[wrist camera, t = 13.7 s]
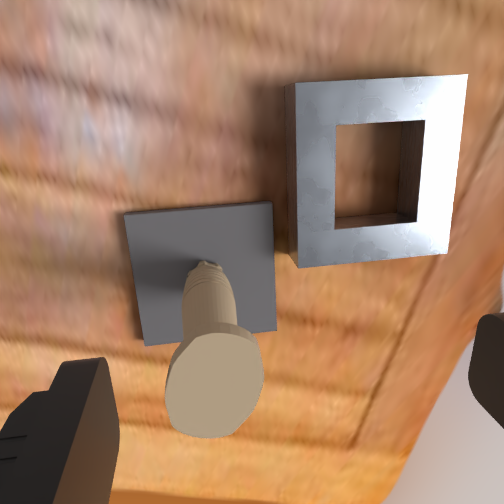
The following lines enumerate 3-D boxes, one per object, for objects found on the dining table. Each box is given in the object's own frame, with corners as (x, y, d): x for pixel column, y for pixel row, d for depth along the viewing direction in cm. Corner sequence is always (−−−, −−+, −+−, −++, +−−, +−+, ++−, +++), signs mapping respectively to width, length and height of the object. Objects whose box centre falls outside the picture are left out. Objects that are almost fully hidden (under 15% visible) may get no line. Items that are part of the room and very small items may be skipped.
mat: (125, 212, 33) (123, 215, 32) (270, 200, 34) (272, 203, 34) (146, 340, 37) (144, 346, 36) (274, 325, 38) (276, 330, 37)
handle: (170, 304, 35) (154, 432, 21) (187, 235, 33) (182, 325, 19) (224, 314, 36) (243, 443, 22) (243, 248, 34) (277, 342, 20)
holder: (284, 85, 32) (295, 82, 28) (440, 78, 33) (467, 74, 30) (288, 254, 36) (298, 268, 33) (425, 241, 38) (447, 253, 34)
